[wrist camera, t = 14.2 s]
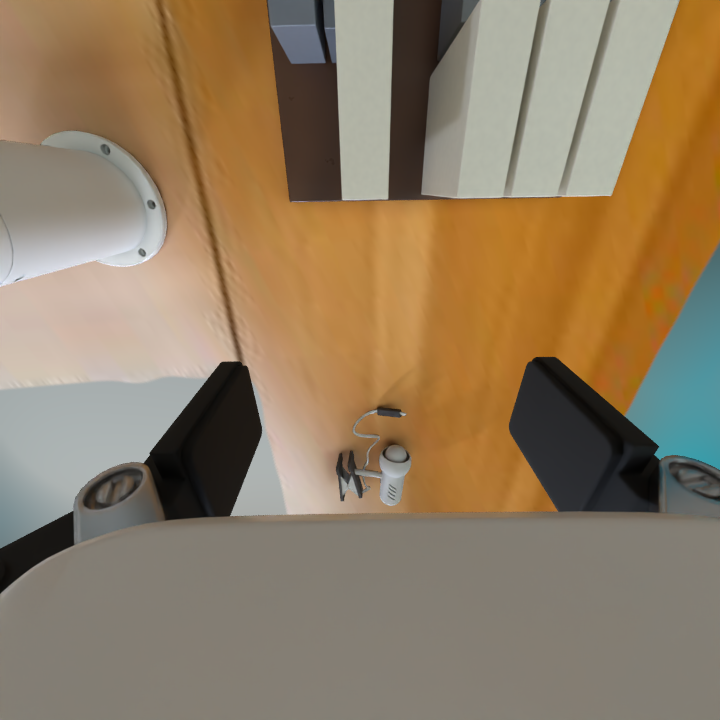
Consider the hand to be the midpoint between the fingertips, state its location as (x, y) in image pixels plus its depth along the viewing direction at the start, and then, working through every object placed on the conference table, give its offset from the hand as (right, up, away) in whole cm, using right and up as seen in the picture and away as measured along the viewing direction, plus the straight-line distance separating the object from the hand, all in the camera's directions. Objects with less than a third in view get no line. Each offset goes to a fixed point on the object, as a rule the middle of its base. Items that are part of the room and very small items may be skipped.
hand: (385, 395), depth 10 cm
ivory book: (-1, +22, +18) cm, 29 cm away
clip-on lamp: (+1, -13, +40) cm, 42 cm away
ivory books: (+10, +22, +18) cm, 30 cm away
